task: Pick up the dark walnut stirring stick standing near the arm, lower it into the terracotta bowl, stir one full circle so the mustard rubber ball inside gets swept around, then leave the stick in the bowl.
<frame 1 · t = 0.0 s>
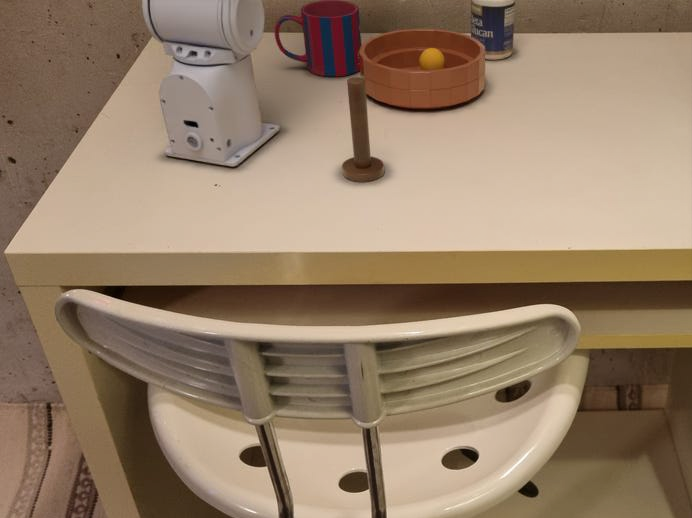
pill bottle: (491, 54, 108), on the table
stick: (363, 172, 82), on the table
ball: (432, 61, 99), point 2 cm above the table, touching bowl
mug: (322, 69, 103), on the table
bowl: (423, 88, 98), on the table
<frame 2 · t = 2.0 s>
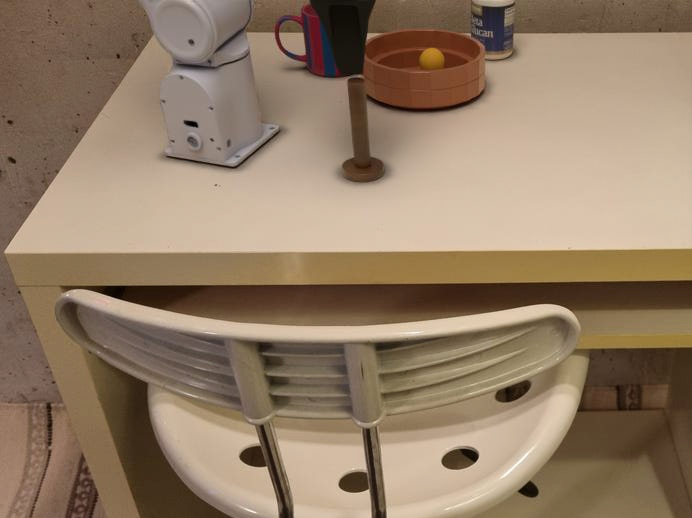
hand: (353, 58, 79), 10 cm above the table, tool pointing down, fingers open, 7 cm apart
nothing on the table moved.
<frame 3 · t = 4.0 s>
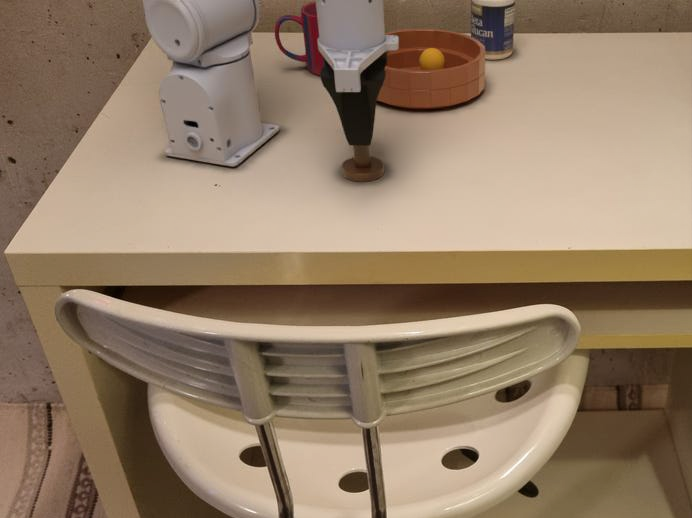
hand: (360, 139, 80), 3 cm above the table, tool pointing down, fingers closed on stick
stick: (363, 172, 82), on the table, touching gripper
everything else where it was.
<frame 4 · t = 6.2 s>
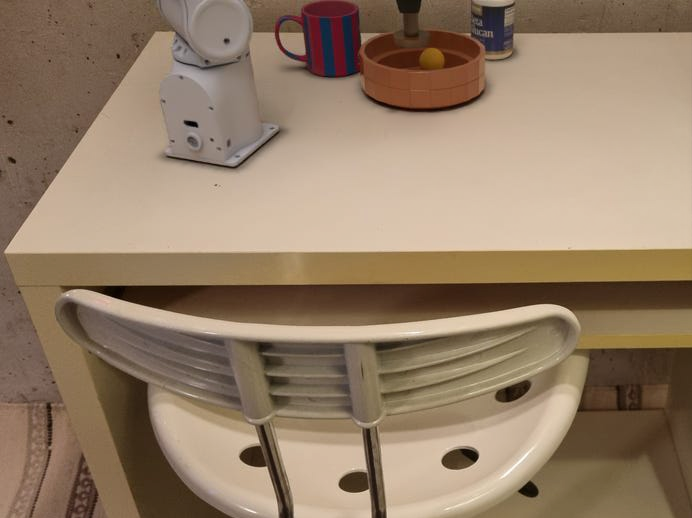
hand: (409, 9, 89), 10 cm above the table, tool pointing down, fingers closed on stick
stick: (411, 42, 91), point 6 cm above the table, touching gripper
everything else where it was.
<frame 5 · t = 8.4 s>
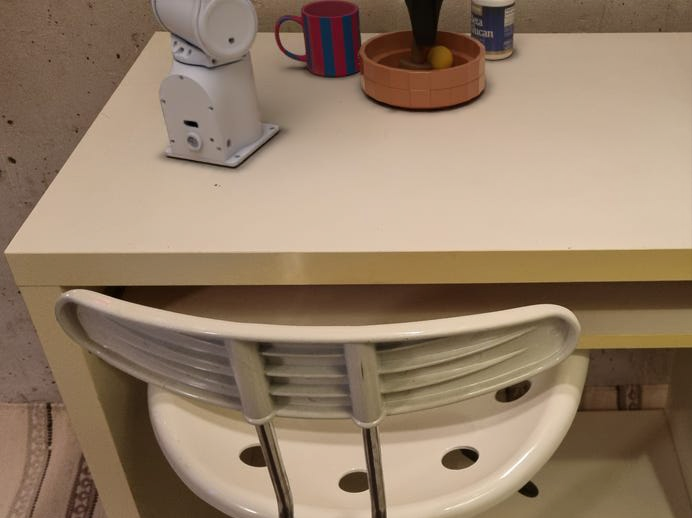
hand: (425, 40, 97), 5 cm above the table, tool pointing down, fingers closed on stick, 2 cm apart
stick: (415, 69, 98), point 2 cm above the table, tilted 13°, touching ball, gripper
ball: (440, 59, 100), point 2 cm above the table, tilted 43°, touching bowl, stick
everything else where it was.
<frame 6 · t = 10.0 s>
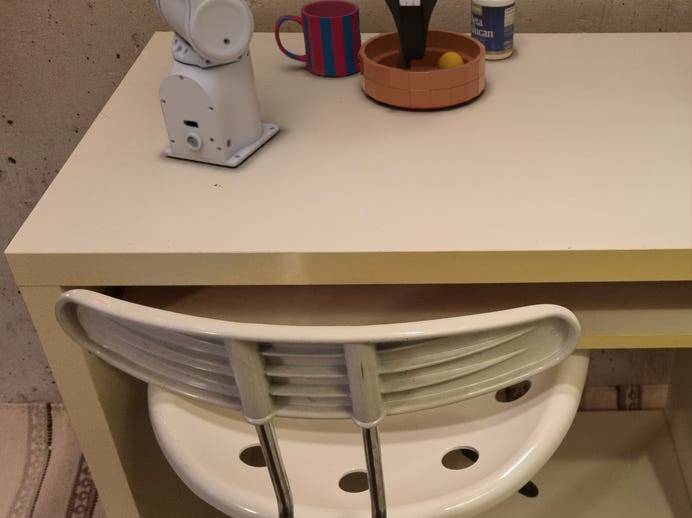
hand: (414, 55, 93), 5 cm above the table, tool pointing down, fingers closed on stick
stick: (401, 80, 95), point 2 cm above the table, tilted 12°, touching bowl, gripper
ball: (451, 65, 98), point 2 cm above the table, tilted 52°, touching bowl
everything else where it was.
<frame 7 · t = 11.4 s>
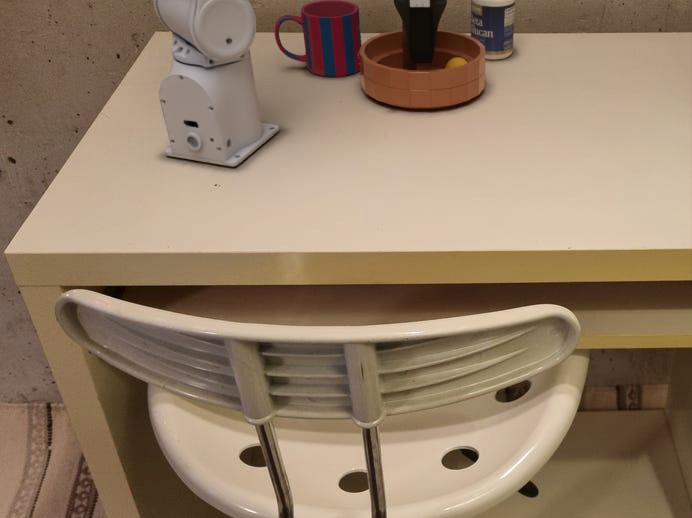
hand: (422, 55, 96), 4 cm above the table, tool pointing down, fingers open, 4 cm apart
stick: (409, 82, 98), point 1 cm above the table, touching bowl
ball: (457, 71, 97), point 2 cm above the table, tilted 107°, touching bowl
everything else where it was.
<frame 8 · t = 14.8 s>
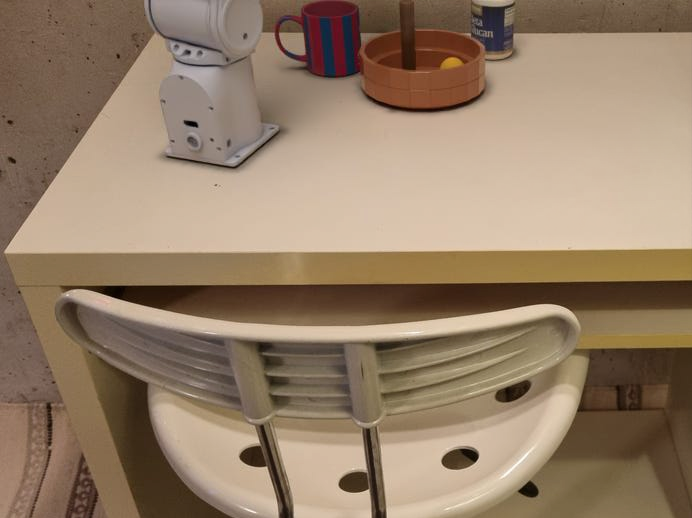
ball: (452, 71, 97), point 2 cm above the table, tilted 86°, touching bowl
everything else where it was.
at the end: ball moved 3.9 cm from its start; ball inside the target area in the bowl (3.4 cm from its centre), point 2.1 cm above the bowl's base; stick inside the target area in the bowl (1.6 cm from its centre), point 0.6 cm above the bowl's base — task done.
